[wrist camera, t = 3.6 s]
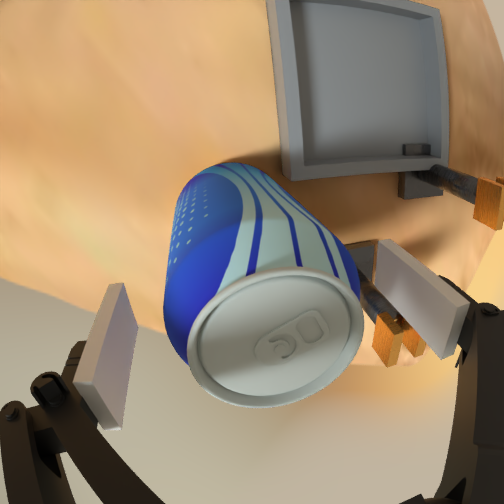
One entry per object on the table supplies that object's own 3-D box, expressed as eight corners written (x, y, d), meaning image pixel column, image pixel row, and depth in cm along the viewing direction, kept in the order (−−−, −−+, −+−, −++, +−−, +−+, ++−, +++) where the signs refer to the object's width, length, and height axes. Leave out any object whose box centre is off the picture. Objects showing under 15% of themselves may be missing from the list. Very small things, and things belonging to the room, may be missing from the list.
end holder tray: (282, 174, 25) (291, 181, 23) (264, -8, 18) (272, -19, 16) (431, 163, 27) (447, 169, 24) (422, 13, 20) (439, 9, 18)
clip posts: (319, 296, 30) (373, 380, 20) (317, 146, 24) (400, 177, 14) (426, 271, 32) (493, 330, 22) (439, 143, 26) (531, 172, 16)
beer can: (270, 264, 28) (344, 412, 14) (171, 257, 26) (162, 421, 12) (289, 167, 25) (415, 252, 10) (181, 154, 23) (163, 230, 9)
